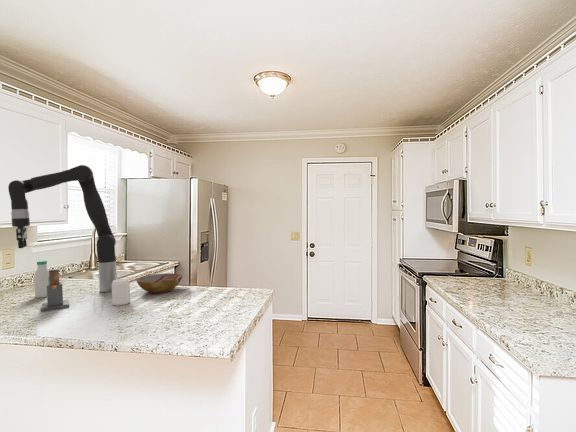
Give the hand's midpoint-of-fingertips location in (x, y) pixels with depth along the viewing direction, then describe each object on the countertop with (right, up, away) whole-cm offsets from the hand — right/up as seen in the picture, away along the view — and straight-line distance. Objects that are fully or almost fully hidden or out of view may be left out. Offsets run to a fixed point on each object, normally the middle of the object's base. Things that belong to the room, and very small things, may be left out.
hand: (22, 247), depth 180 cm
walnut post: (+28, -27, -15) cm, 42 cm away
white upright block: (+60, -28, -12) cm, 67 cm away
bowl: (+70, -27, +12) cm, 76 cm away
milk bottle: (+6, -29, +8) cm, 30 cm away
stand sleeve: (+28, -28, -15) cm, 43 cm away
